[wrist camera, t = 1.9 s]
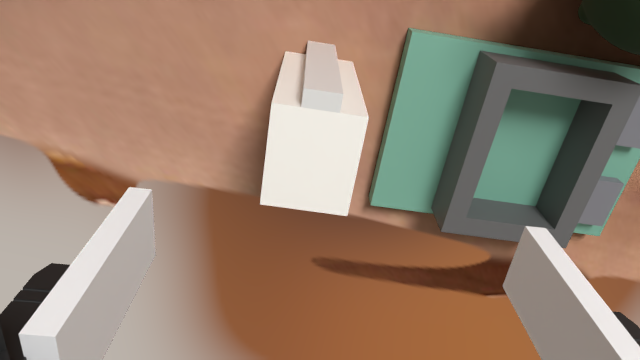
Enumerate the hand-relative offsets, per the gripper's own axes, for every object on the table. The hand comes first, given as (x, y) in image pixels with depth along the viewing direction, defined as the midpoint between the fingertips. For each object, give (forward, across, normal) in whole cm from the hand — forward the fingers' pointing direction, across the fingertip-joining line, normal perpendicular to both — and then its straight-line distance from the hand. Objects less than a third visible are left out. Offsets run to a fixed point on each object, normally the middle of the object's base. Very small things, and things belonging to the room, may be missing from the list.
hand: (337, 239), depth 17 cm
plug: (+21, -1, -1) cm, 21 cm away
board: (+21, +15, -3) cm, 26 cm away
